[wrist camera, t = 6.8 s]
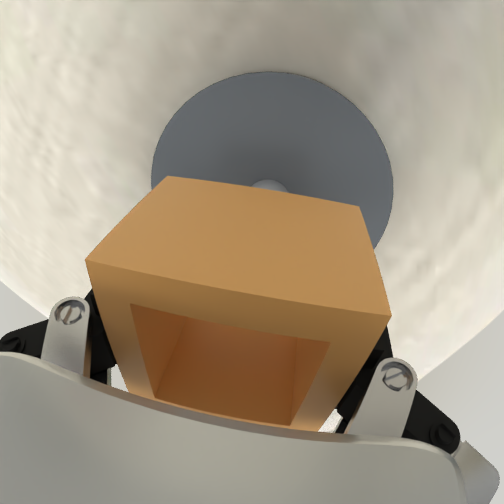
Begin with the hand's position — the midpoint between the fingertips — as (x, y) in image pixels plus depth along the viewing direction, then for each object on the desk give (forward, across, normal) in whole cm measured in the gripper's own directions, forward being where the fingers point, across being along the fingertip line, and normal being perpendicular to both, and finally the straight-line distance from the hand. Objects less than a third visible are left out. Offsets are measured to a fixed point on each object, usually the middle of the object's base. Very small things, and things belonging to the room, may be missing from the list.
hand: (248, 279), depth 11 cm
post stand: (+9, 0, 0) cm, 9 cm away
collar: (+1, 0, 0) cm, 1 cm away
